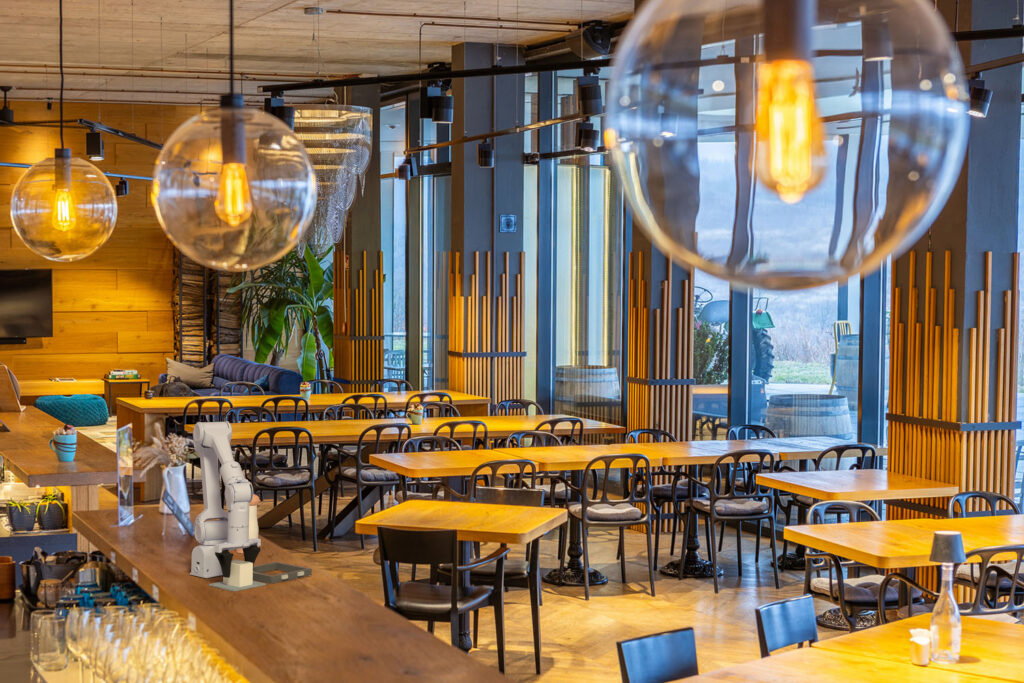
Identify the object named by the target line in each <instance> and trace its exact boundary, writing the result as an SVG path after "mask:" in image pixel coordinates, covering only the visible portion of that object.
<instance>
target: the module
mask: <svg viewBox="0 0 1024 683" xmlns="http://www.w3.org/2000/svg"><path fill="white" fill-rule="evenodd" d="M222 577H223V576H222ZM222 581H223V584H228V585H232V586H237V587H243V586H247V585H252V583H253V581H254V580H253V563H251V562H246V561H245V560H241V559H232V562H231V572H230V577H229V578H226V577H223V578H222Z"/></svg>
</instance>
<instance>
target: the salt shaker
mask: <svg viewBox="0 0 1024 683" xmlns="http://www.w3.org/2000/svg"><path fill="white" fill-rule="evenodd" d="M259 503H260V497H259V496H258V495H257V494H255V493H253V499H252V501H251V502H250V503H249V539H254V538H258V539H259V529H260V528H259V521H258V505H259ZM257 547H260V546H257ZM235 553H238V554H244V553H243V549H242V548H241V549H235Z"/></svg>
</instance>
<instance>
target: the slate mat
mask: <svg viewBox="0 0 1024 683" xmlns="http://www.w3.org/2000/svg"><path fill="white" fill-rule="evenodd" d="M266 585H267V583H265V582H261V581H256V580H253V583H252V585H247V586H243V587H237V586H232V585H228V584H223V580H222V581H219V582H217V581H216V582H214V583H208V586H209V587H212V588H218V589H222V590H226V591H231V592H238V591H243V590H248V589H254V588H259V587H264V586H266Z"/></svg>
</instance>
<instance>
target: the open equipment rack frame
mask: <svg viewBox="0 0 1024 683" xmlns="http://www.w3.org/2000/svg"><path fill="white" fill-rule="evenodd" d="M275 569H278V570H277V571H281V570H282V572H284V573H280V574H279V573H278V574H274V575H271V574H266V571H267V572H271V571H270V570H272V571H275ZM309 575H312V568H309V567H305V566H300V565H296V564H295V565H294V564H291V563H290V564H289V563H286V562H285V563H284V562H281V561H280V562H279V561H274V562H270V563H264V564H258V565H254V566H253V581H256V582H261V583H265V584H271V585H273V584H278V583H282V582H288V581H293V580H297V578H298V579H301V577H303V578H306V577H305V576H307V577H310V576H309Z"/></svg>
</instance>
